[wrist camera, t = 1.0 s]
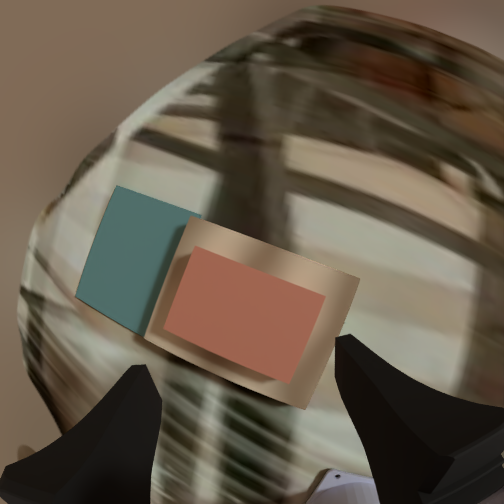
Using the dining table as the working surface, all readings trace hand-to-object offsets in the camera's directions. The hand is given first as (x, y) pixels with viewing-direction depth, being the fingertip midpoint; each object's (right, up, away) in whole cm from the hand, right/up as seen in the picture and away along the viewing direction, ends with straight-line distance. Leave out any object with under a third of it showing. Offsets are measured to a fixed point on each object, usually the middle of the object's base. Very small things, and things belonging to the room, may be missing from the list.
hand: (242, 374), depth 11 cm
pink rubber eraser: (0, 0, +10) cm, 10 cm away
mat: (-10, +4, +14) cm, 18 cm away
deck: (0, 0, +12) cm, 12 cm away
